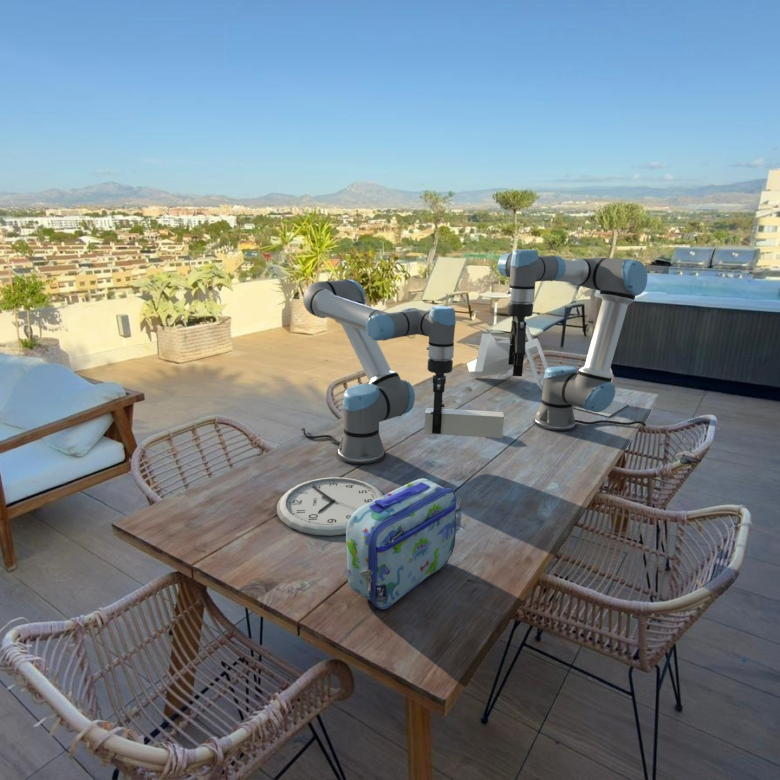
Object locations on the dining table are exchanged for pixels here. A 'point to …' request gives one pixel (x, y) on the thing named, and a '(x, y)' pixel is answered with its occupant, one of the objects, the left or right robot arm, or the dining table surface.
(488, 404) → the dining table surface
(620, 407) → the invitation card
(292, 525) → the wall clock
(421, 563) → the lunch box
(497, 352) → the white plastic object
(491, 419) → the plank
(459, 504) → the fork
